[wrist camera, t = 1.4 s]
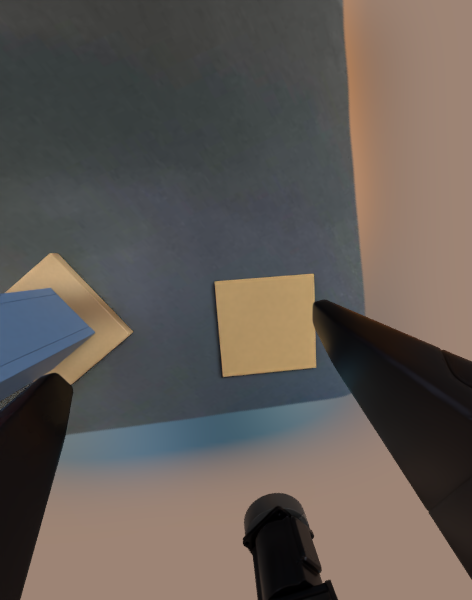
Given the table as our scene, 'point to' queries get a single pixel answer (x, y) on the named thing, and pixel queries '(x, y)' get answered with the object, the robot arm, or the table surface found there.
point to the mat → (266, 324)
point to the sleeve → (35, 336)
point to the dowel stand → (85, 305)
